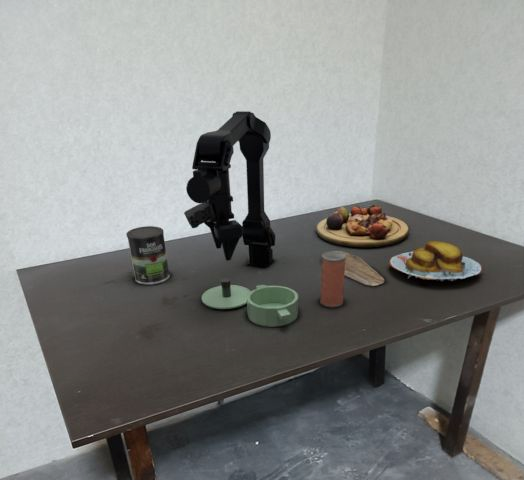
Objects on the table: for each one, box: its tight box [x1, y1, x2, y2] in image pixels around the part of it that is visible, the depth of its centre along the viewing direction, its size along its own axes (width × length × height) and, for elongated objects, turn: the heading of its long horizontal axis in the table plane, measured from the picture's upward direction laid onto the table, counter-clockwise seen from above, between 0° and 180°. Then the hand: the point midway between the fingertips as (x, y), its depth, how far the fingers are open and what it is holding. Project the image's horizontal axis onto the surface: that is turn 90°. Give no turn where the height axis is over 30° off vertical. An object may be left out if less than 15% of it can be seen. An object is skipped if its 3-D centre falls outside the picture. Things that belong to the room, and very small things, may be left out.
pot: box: [246, 283, 299, 328], centre depth 121 cm, size 13×18×5 cm
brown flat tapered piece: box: [336, 250, 385, 287], centre depth 144 cm, size 26×10×1 cm, turn 31°
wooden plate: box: [316, 204, 410, 248], centre depth 169 cm, size 32×32×8 cm
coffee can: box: [126, 225, 171, 286], centre depth 140 cm, size 10×10×14 cm
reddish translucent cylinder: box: [319, 250, 346, 309], centre depth 123 cm, size 6×6×13 cm
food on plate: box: [388, 240, 483, 282], centre depth 139 cm, size 25×25×7 cm
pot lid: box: [201, 277, 252, 310], centre depth 129 cm, size 14×14×6 cm
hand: (223, 254), depth 123 cm, fingers open, 9 cm apart
